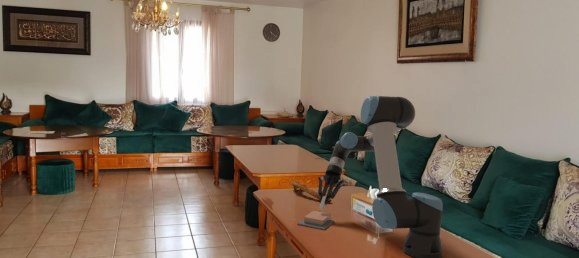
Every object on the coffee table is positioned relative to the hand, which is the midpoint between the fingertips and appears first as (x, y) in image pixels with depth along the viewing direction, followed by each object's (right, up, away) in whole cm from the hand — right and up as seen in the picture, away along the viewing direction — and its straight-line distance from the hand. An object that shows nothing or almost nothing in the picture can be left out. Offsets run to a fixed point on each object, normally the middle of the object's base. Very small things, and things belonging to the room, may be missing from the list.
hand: (321, 209), depth 219 cm
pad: (-3, -5, -5) cm, 8 cm away
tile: (+1, -3, +2) cm, 3 cm away
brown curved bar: (-4, 0, +42) cm, 42 cm away
